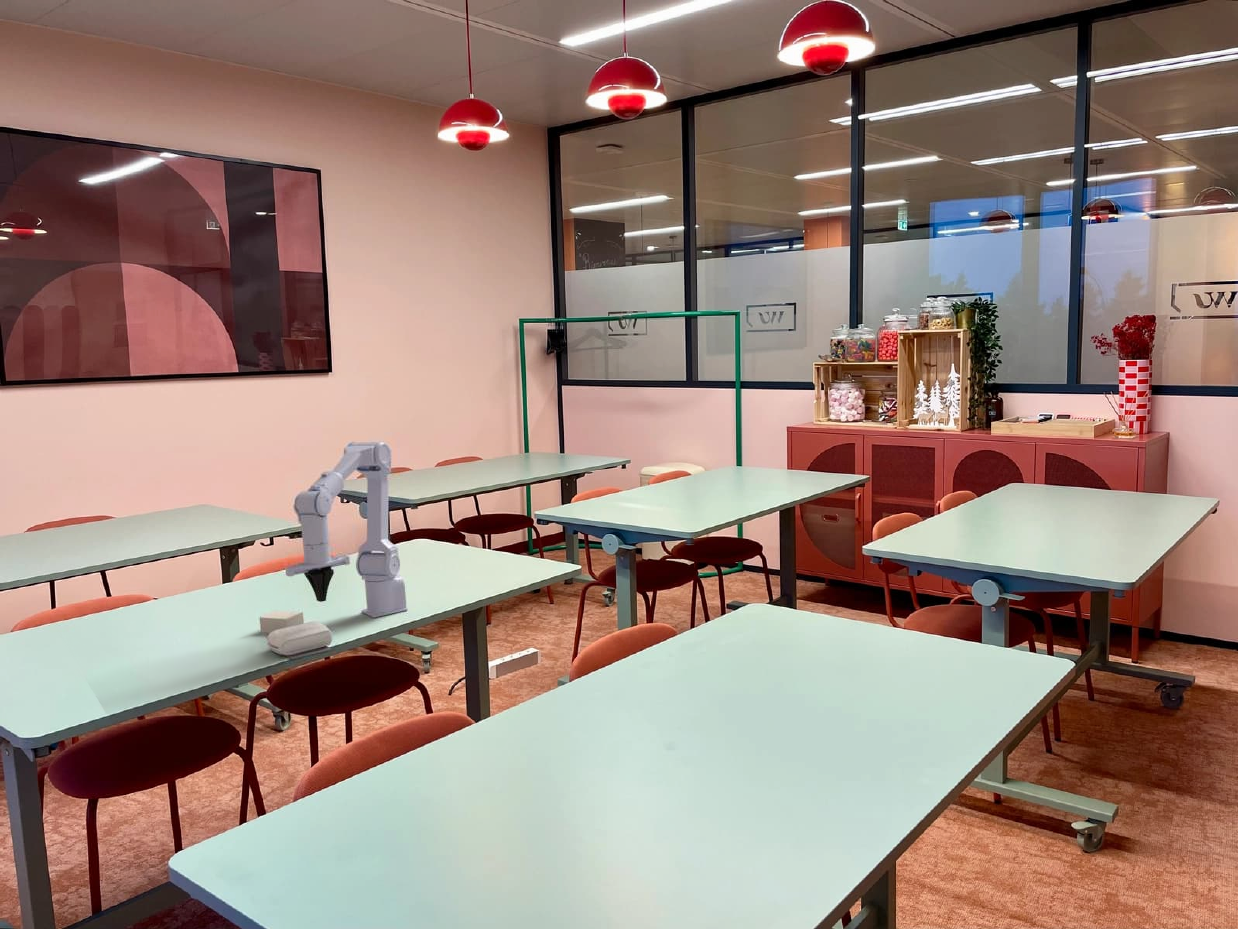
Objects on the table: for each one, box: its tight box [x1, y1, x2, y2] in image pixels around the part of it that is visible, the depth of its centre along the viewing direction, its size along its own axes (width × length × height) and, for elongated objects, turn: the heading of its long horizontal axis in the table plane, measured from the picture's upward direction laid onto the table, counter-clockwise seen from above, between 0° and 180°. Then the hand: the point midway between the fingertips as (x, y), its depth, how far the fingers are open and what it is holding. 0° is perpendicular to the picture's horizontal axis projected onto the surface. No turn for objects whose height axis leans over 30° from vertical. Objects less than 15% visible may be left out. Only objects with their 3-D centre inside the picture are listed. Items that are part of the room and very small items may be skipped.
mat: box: [285, 645, 333, 661], centre depth 209 cm, size 9×14×1 cm, turn 38°
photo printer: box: [266, 620, 333, 656], centre depth 208 cm, size 10×4×12 cm
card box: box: [258, 609, 305, 634], centre depth 224 cm, size 6×8×4 cm
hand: (321, 600), depth 211 cm, fingers closed
